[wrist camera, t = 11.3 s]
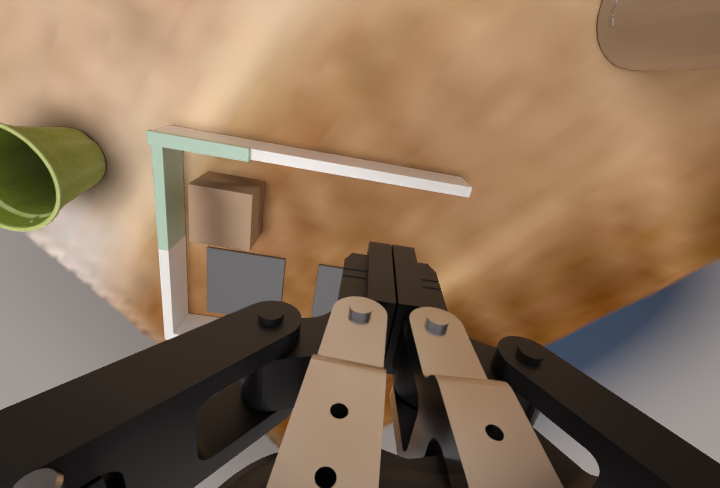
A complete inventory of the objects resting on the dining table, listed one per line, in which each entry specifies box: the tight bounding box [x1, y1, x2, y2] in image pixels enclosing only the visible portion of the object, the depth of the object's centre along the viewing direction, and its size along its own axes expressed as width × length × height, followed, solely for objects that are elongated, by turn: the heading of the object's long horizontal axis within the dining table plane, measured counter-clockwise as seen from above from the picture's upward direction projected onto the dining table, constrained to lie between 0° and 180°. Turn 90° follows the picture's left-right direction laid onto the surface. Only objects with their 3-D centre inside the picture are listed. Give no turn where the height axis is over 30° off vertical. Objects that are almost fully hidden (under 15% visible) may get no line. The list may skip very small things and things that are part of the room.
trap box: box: [146, 125, 472, 340], centre depth 40 cm, size 30×24×5 cm
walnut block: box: [188, 171, 265, 251], centre depth 37 cm, size 6×6×5 cm
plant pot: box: [0, 123, 106, 231], centre depth 33 cm, size 9×9×9 cm
